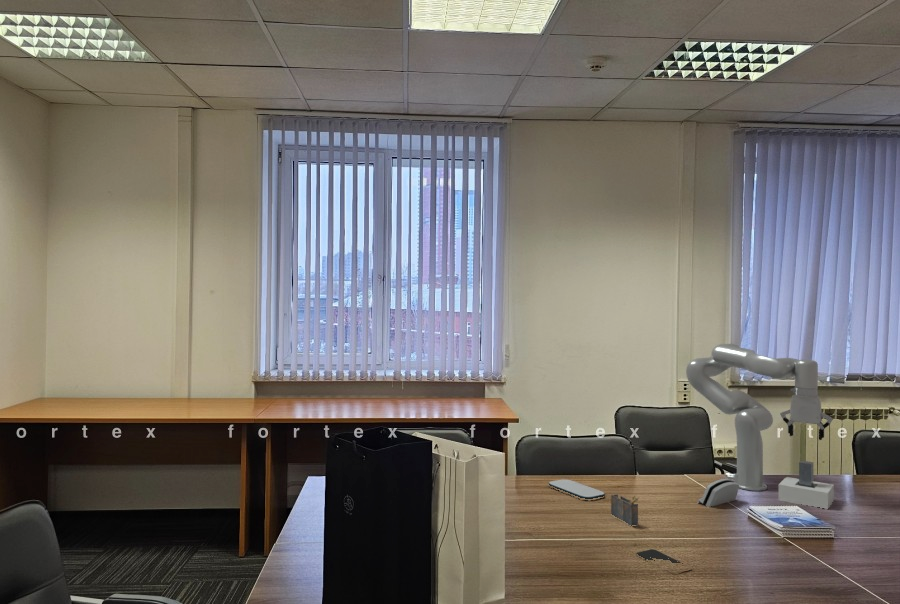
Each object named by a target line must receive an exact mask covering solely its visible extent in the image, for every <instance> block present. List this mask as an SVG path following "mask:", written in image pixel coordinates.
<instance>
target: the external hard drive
mask: <svg viewBox="0 0 900 604" xmlns="http://www.w3.org/2000/svg"><path fill="white" fill-rule="evenodd" d="M548 484H549V485H550V486H553V487H555V488H557V489H560V490H563V491H565V492H568V493H570V494H573V495H575V496H578V497H580V498H585V499H593V498H598V497H603V496H605V497H606V493H605V491H602V490H599V489H597V488H593V487H590V486H588V485H586V484H584V483H581V482H577V481H575V480H571V479H567V478H566V479H556V480H551V481H549V482H548Z"/></svg>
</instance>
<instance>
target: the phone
mask: <svg viewBox="0 0 900 604" xmlns="http://www.w3.org/2000/svg"><path fill="white" fill-rule="evenodd" d="M637 554H638V555H639V556H641V557H643V558H645V559H648V560H653V559H652V558H656V559H663V560H670V561H671V562H672V563H682V564H684V563H683V562H681V561H679V560H677V559H675V558H673V557H671V556H669V555H667V554H665V553H664V552H661V551H660V550H659V551H658V550H656V549H646V550H643V551H638V552H637V553H636V555H637ZM650 557H651V558H650ZM668 558H669V559H668ZM654 561H655V560H654ZM677 561H678V562H677Z"/></svg>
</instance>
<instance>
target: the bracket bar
mask: <svg viewBox="0 0 900 604" xmlns="http://www.w3.org/2000/svg"><path fill="white" fill-rule="evenodd" d="M798 479H799V486H805V487H811V488H813V481H814V461H808V460H800V461H799V463H798Z"/></svg>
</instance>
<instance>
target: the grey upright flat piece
mask: <svg viewBox="0 0 900 604" xmlns="http://www.w3.org/2000/svg"><path fill="white" fill-rule="evenodd" d="M631 498H632V499H631V500H630V499H628V498H626V497H624V496H622V495H620V497H619V494H618V493H617V494H616V493H615V494H611V495H610V501H611V502H610V505H611V506H610V515H611V514H612V515H614V516H615V517H617V518H619V519H621V520H623V521H625V522H626V523H628V524H629V525H631V526H632V525H638V526H639V503H635V502H637V501H638V500H639V497H636V495H634V496H632V497H631ZM629 525H628V526H629ZM631 526H630V527H631Z"/></svg>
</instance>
